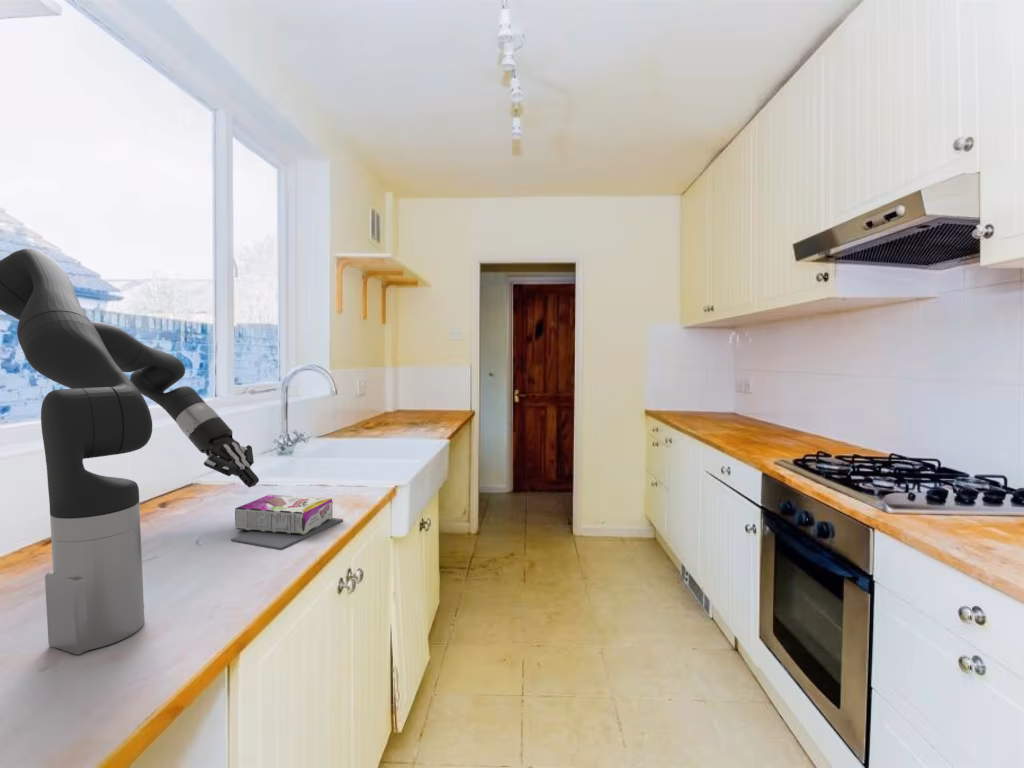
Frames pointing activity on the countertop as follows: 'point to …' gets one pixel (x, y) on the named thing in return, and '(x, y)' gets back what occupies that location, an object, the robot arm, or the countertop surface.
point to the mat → (280, 536)
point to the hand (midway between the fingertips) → (254, 484)
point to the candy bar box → (283, 514)
